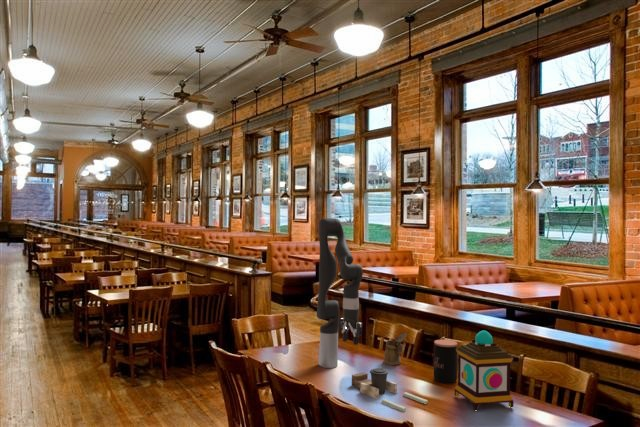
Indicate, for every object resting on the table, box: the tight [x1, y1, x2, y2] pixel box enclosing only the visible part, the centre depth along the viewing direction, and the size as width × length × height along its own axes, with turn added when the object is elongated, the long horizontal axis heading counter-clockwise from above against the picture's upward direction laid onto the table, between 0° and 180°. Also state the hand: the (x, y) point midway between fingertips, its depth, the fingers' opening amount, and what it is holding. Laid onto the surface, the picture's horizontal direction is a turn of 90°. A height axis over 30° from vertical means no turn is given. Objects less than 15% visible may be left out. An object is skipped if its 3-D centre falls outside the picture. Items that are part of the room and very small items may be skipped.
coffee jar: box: [433, 339, 458, 385], centre depth 237 cm, size 11×11×18 cm
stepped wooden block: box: [359, 379, 398, 400], centre depth 219 cm, size 10×12×4 cm
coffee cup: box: [369, 367, 389, 396], centre depth 219 cm, size 8×8×10 cm
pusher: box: [351, 371, 372, 389], centre depth 226 cm, size 9×7×5 cm
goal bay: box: [381, 391, 429, 413], centre depth 208 cm, size 12×15×1 cm
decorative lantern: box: [454, 330, 515, 411], centre depth 210 cm, size 20×20×30 cm
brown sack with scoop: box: [383, 331, 407, 366], centre depth 262 cm, size 9×14×18 cm, turn 35°
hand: (350, 342), depth 234 cm, fingers open, 7 cm apart
